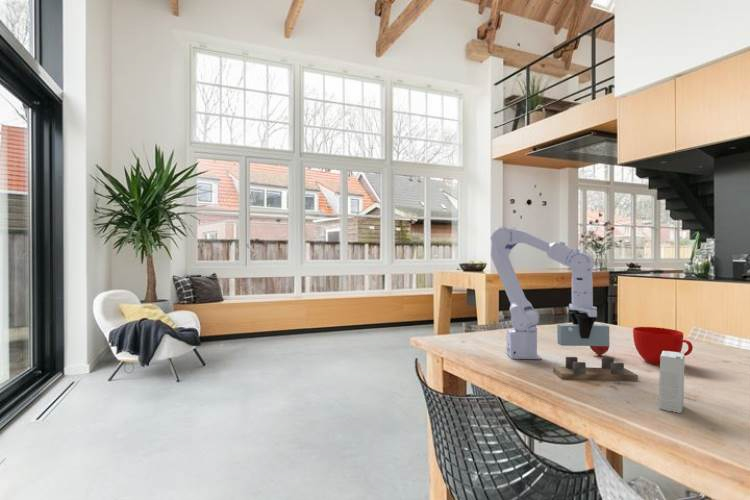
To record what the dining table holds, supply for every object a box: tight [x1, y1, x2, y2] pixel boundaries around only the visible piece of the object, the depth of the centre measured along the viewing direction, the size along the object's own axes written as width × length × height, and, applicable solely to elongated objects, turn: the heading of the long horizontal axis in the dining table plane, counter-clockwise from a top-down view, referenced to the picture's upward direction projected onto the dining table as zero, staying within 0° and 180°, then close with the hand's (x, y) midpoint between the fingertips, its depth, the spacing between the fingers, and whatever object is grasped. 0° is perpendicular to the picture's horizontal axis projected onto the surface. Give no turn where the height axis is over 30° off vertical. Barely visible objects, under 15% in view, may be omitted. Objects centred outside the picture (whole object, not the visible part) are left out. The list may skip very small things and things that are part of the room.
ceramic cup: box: [632, 326, 694, 366], centre depth 123 cm, size 13×17×10 cm
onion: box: [589, 345, 610, 357], centre depth 134 cm, size 6×6×8 cm
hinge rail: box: [552, 356, 639, 382], centre depth 112 cm, size 20×6×4 cm, turn 85°
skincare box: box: [658, 351, 686, 414], centre depth 89 cm, size 6×4×12 cm
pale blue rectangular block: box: [556, 323, 610, 347], centre depth 121 cm, size 14×4×6 cm, turn 86°
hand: (582, 336), depth 121 cm, fingers closed on pale blue rectangular block, 3 cm apart
